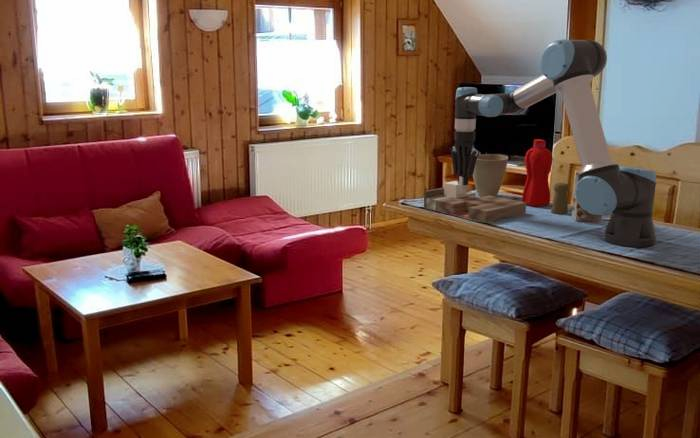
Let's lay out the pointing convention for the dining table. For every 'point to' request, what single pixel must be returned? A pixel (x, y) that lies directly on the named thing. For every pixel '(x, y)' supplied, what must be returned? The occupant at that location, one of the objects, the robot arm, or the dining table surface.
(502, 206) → the wooden board
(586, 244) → the dining table surface
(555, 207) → the cork
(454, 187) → the block
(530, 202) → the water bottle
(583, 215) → the coffee box
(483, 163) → the plant pot
